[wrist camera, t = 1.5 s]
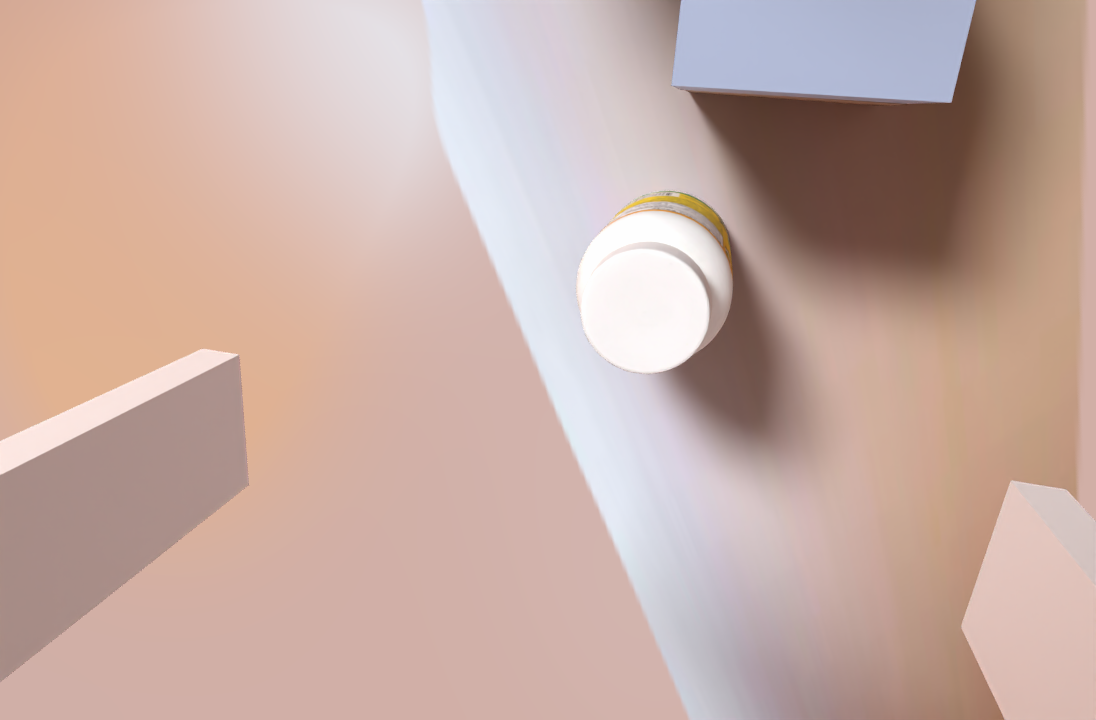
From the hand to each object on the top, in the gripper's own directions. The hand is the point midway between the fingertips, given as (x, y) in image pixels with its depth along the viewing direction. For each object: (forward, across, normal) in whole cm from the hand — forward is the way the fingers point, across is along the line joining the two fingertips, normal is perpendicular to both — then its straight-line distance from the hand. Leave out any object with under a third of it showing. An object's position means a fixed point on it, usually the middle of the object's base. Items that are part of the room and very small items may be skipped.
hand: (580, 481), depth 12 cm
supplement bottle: (+20, 0, 0) cm, 20 cm away
